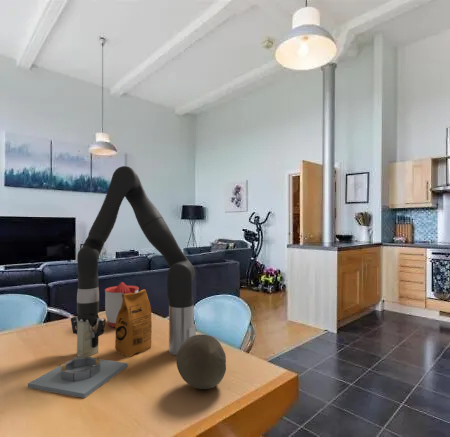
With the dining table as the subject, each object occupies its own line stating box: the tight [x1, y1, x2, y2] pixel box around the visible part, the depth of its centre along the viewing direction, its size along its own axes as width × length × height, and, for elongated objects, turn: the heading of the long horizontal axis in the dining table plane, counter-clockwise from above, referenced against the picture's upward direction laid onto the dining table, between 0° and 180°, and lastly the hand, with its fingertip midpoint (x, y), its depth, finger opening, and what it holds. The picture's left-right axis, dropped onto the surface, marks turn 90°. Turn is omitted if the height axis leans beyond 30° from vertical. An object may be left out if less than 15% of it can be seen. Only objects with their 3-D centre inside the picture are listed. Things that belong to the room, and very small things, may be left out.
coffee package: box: [114, 289, 153, 357], centre depth 120 cm, size 10×12×22 cm
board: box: [27, 355, 128, 399], centre depth 99 cm, size 20×20×1 cm
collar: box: [60, 356, 101, 382], centre depth 99 cm, size 11×11×3 cm
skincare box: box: [76, 321, 99, 357], centre depth 116 cm, size 6×4×12 cm
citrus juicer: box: [104, 281, 140, 328], centre depth 150 cm, size 16×17×20 cm
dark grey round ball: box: [175, 334, 227, 390], centre depth 92 cm, size 14×14×15 cm
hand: (87, 345), depth 116 cm, fingers closed on skincare box, 5 cm apart
